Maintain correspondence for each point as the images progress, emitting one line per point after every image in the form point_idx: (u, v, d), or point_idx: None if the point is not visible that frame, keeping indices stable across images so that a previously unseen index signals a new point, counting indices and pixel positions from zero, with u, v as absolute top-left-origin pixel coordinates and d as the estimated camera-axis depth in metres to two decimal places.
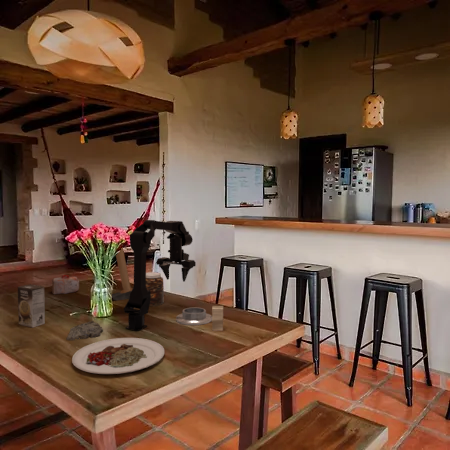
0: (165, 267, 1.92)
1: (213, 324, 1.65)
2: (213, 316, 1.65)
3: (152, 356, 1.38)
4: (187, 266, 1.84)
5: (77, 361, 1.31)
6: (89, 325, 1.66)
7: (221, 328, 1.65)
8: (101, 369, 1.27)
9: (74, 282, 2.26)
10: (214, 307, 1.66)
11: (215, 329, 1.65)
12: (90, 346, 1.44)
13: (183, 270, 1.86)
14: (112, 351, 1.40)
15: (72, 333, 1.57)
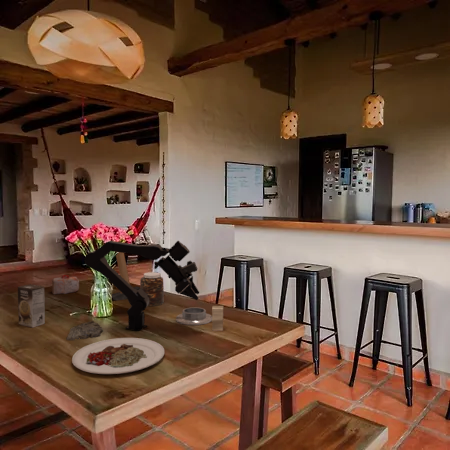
0: None
1: (213, 324, 1.65)
2: (213, 316, 1.65)
3: (152, 356, 1.38)
4: None
5: (77, 361, 1.31)
6: (89, 325, 1.66)
7: (221, 328, 1.65)
8: (101, 369, 1.27)
9: (74, 282, 2.26)
10: (214, 307, 1.66)
11: (215, 329, 1.65)
12: (90, 346, 1.44)
13: None
14: (112, 351, 1.40)
15: (72, 333, 1.57)
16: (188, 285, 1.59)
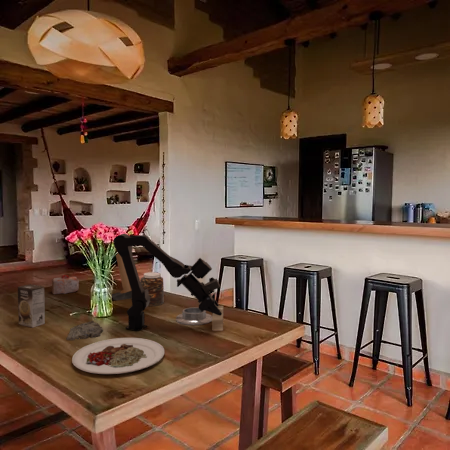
0: None
1: (213, 324, 1.65)
2: (213, 316, 1.65)
3: (152, 356, 1.38)
4: (201, 310, 1.58)
5: (77, 361, 1.31)
6: (89, 325, 1.66)
7: (221, 328, 1.65)
8: (101, 369, 1.27)
9: (74, 282, 2.26)
10: None
11: (215, 329, 1.65)
12: (90, 346, 1.44)
13: None
14: (112, 351, 1.40)
15: (72, 333, 1.57)
16: (212, 301, 1.61)
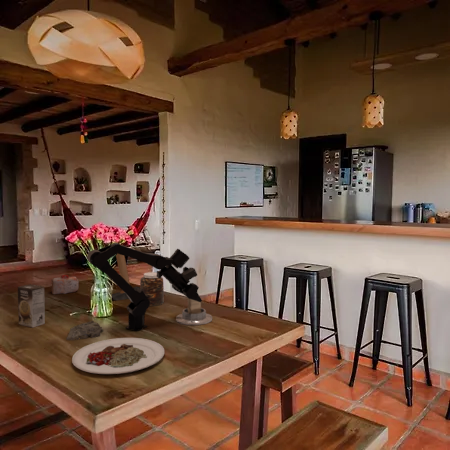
0: (182, 290, 1.81)
1: None
2: (192, 305, 1.76)
3: (152, 356, 1.38)
4: (187, 297, 1.68)
5: (77, 361, 1.31)
6: (89, 325, 1.66)
7: None
8: (101, 369, 1.27)
9: (74, 282, 2.26)
10: None
11: None
12: (90, 346, 1.44)
13: (189, 298, 1.71)
14: (112, 351, 1.40)
15: (72, 333, 1.57)
16: None
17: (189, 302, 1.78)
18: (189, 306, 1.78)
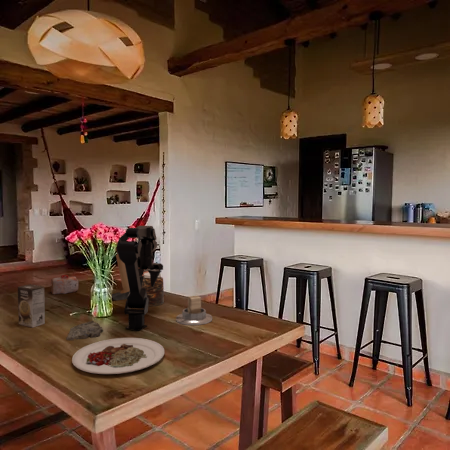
0: None
1: None
2: (192, 305, 1.76)
3: (152, 356, 1.38)
4: (162, 268, 1.87)
5: (77, 361, 1.31)
6: (89, 325, 1.66)
7: None
8: (101, 369, 1.27)
9: (73, 282, 2.26)
10: (192, 297, 1.78)
11: None
12: (90, 346, 1.44)
13: (158, 273, 1.86)
14: (112, 351, 1.40)
15: (72, 333, 1.57)
16: None
17: (189, 302, 1.78)
18: (189, 306, 1.78)
